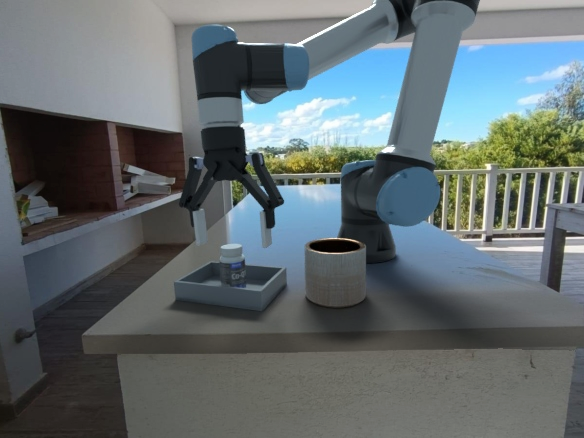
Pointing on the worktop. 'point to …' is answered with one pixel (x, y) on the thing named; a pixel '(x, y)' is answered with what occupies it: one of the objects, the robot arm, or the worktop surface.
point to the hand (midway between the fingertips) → (233, 244)
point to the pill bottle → (232, 266)
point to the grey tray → (209, 290)
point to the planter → (335, 272)
